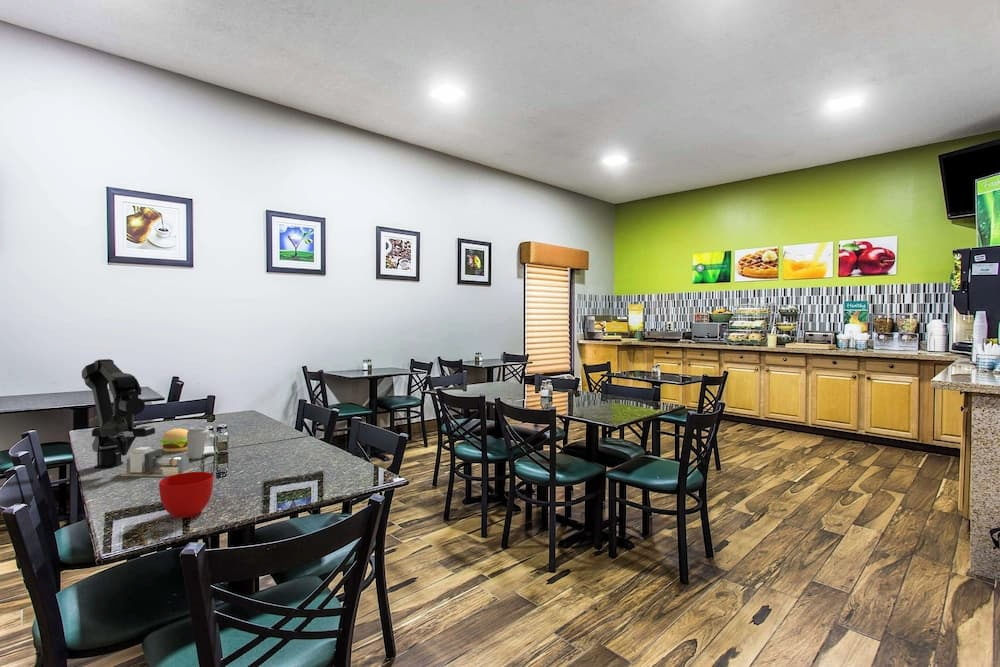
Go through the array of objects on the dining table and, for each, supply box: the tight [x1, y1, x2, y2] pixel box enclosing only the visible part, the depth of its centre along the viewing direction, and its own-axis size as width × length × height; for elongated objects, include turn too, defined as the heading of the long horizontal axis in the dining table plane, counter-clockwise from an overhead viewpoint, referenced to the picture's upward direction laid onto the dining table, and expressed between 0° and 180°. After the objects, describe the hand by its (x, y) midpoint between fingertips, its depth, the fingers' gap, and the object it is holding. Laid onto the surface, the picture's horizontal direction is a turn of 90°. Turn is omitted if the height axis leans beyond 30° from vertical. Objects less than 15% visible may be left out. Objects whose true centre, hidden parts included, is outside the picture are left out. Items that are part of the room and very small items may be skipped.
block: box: [145, 448, 164, 473], centre depth 180 cm, size 2×7×6 cm, turn 0°
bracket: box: [129, 446, 155, 472], centre depth 180 cm, size 4×6×8 cm, turn 0°
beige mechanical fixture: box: [119, 456, 195, 478], centre depth 180 cm, size 20×9×5 cm, turn 90°
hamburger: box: [159, 428, 189, 453], centre depth 212 cm, size 12×12×9 cm
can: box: [186, 425, 210, 460], centre depth 200 cm, size 8×8×12 cm
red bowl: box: [158, 471, 214, 519], centre depth 144 cm, size 13×17×10 cm
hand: (124, 455), depth 180 cm, fingers closed
